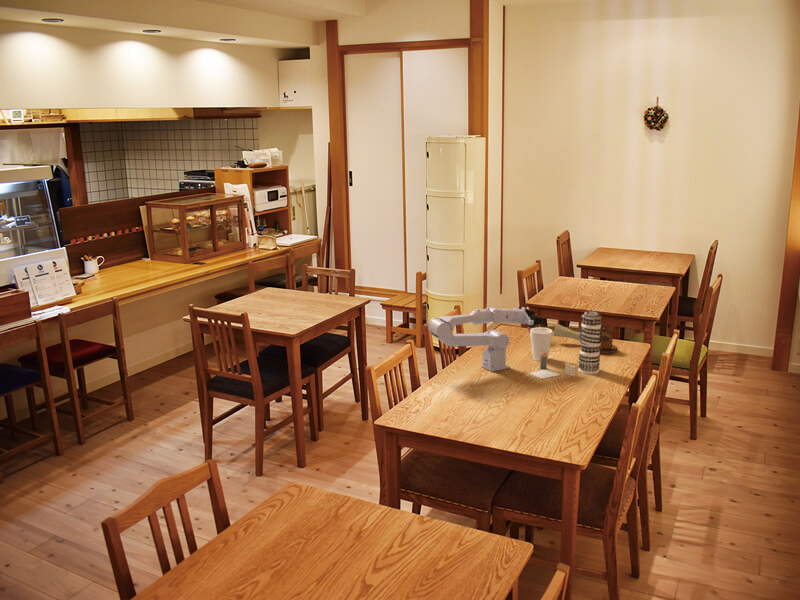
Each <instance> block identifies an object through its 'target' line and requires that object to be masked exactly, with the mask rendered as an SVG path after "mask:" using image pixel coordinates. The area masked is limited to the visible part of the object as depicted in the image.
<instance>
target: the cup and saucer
mask: <svg viewBox="0 0 800 600" xmlns="http://www.w3.org/2000/svg"><path fill="white" fill-rule="evenodd" d="M600 337H601V338H602V339H600V341H601V345H600V346H599V354H612V353H615V352H617V351H618V347H617V346H616V345H614V344H613V337H611V336H606V335H601V336H600Z"/></svg>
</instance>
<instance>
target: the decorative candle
mask: <svg viewBox="0 0 800 600" xmlns="http://www.w3.org/2000/svg"><path fill="white" fill-rule="evenodd" d="M581 317H582V319H581V324H580V326H579V333H580V338H581V339H580V341H579V345H580V348H579V353H578V356H579V357H578V360H579V361H578V371H579V372H580V373H582V374H585V375H588V374H589V375H595V374H598V373H599V372H600V365H601V363H600V361H601V359H600V358H601V355H600V353H599V346H600V345H601V341H600V339H602V338H601V337H600V336H603V333H602V331H603V329H602V318H603V317H602V315H601V314H600V313H599V312H598V311H591V310H589V311H585V312H584V314H582V315H581ZM581 336H582V337H581Z"/></svg>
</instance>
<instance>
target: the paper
mask: <svg viewBox="0 0 800 600" xmlns="http://www.w3.org/2000/svg"><path fill="white" fill-rule="evenodd" d="M528 373H529V375H531V376H533V377H536V378H537V379H540V380H545V379H550V378H556V377H559V376H561V373H558V372H556V371H553V370H552V369H550V368H547V369H546V370H542V369H540V370H537V371H531V372H528Z"/></svg>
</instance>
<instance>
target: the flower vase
mask: <svg viewBox="0 0 800 600" xmlns="http://www.w3.org/2000/svg"><path fill="white" fill-rule="evenodd" d="M535 327H537V328H539V327H540V328H544V325H542V326H541V325H539V324H538V325H536V326H535ZM526 328H527V331H528V333H529V334H530V330H531V329H532V328H534V327H532V328H530V327H529V326H528V325H527V327H526ZM552 337H560V338H568V339H573V340H576V341H579V342H580V339H581V338H580V331H575V330H572V329H569V328H567V327H565V326H563V325H561V324H559V323H556V324H555V327H554V330H552ZM581 337H582V336H581Z"/></svg>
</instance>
